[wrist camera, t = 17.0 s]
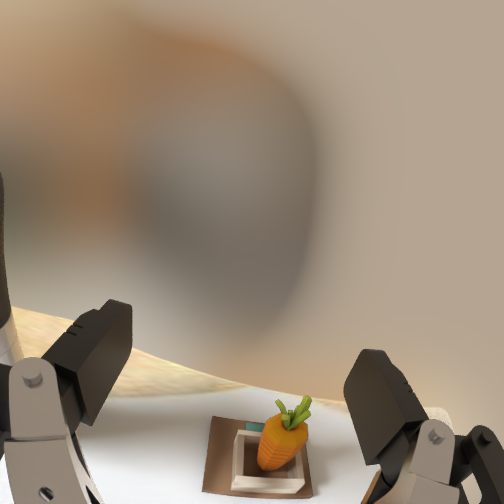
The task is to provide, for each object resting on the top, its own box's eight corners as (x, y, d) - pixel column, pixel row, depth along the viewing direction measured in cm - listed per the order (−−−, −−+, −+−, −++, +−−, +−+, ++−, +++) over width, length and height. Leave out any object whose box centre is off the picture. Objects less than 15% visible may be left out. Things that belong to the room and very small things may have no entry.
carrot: (251, 486, 25) (286, 426, 21) (241, 457, 30) (269, 388, 25) (287, 479, 27) (333, 417, 22) (276, 452, 31) (312, 383, 27)
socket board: (201, 491, 24) (205, 479, 23) (211, 420, 37) (215, 402, 35) (309, 498, 25) (323, 485, 24) (300, 430, 37) (310, 413, 36)
